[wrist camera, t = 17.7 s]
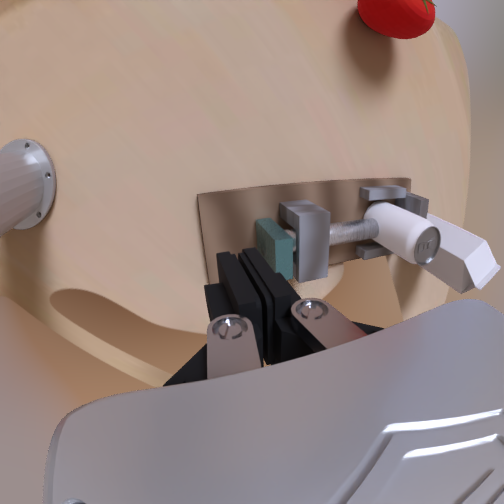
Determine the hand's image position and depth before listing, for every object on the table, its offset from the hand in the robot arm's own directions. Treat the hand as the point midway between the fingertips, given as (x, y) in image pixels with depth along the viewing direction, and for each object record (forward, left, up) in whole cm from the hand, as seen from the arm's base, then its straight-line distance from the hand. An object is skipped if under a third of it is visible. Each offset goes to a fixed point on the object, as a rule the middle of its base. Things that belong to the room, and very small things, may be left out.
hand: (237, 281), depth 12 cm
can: (+27, -8, -24) cm, 37 cm away
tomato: (+29, +27, -25) cm, 47 cm away
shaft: (+15, -8, -24) cm, 29 cm away
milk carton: (+40, -13, -25) cm, 49 cm away
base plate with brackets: (+17, -8, -25) cm, 32 cm away
